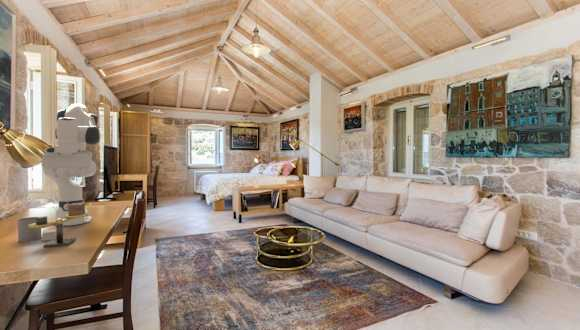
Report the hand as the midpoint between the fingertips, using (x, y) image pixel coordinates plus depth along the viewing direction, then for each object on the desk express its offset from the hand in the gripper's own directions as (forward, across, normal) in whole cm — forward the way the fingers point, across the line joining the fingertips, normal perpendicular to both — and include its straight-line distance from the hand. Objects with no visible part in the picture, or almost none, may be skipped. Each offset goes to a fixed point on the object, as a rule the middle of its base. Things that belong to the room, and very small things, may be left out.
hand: (68, 177), depth 140 cm
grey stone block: (+31, +8, 0) cm, 32 cm away
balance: (+30, 0, +11) cm, 33 cm away
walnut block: (+17, -7, +11) cm, 21 cm away
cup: (+31, +17, -3) cm, 35 cm away
